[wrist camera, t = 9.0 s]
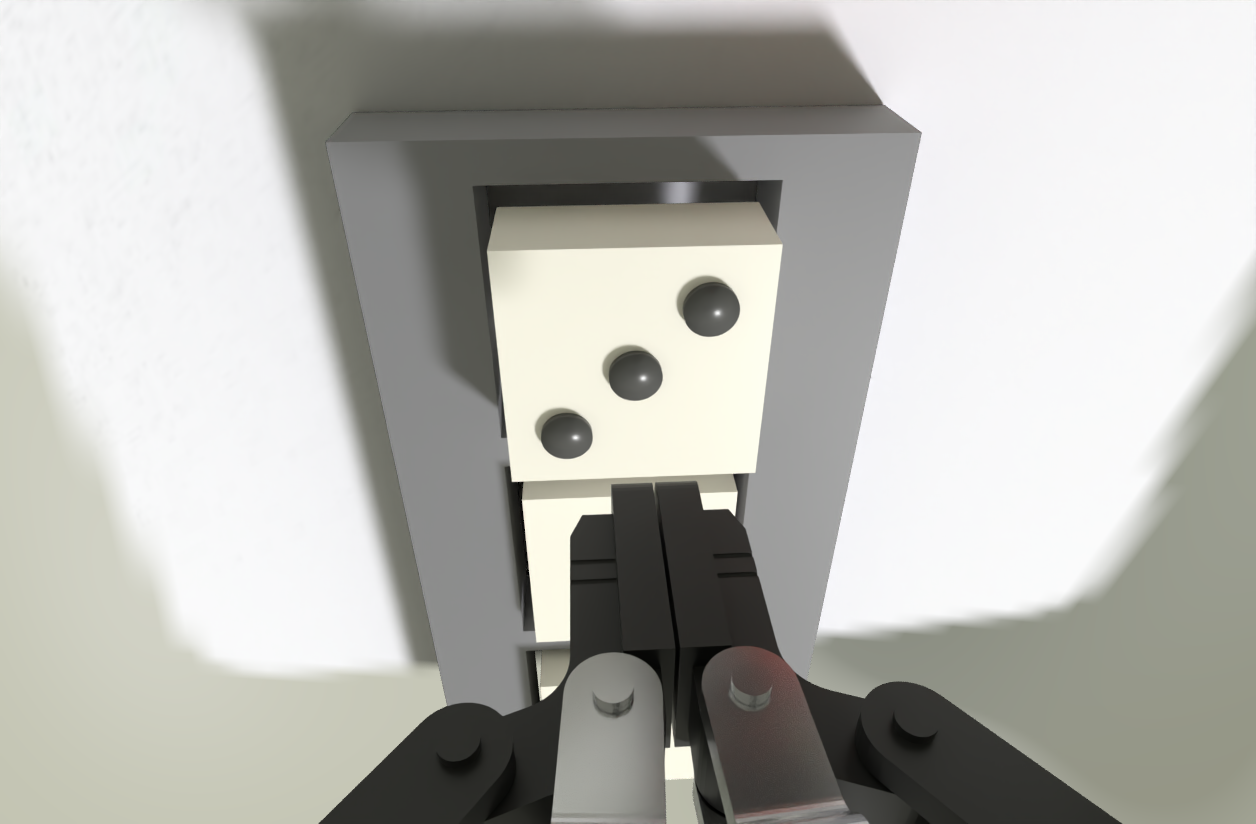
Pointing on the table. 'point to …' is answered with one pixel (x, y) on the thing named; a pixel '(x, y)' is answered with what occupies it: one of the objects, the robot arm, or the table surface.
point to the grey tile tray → (468, 355)
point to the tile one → (555, 518)
